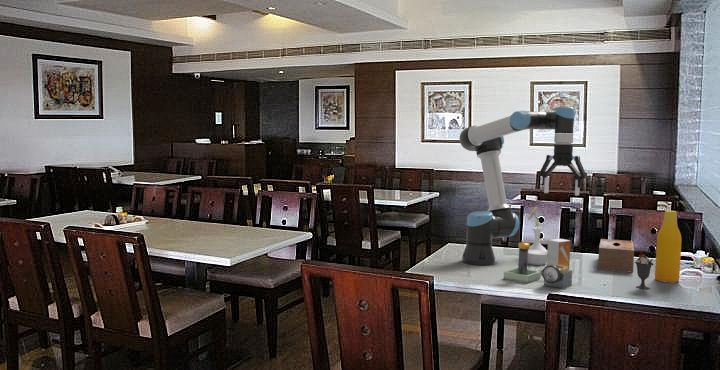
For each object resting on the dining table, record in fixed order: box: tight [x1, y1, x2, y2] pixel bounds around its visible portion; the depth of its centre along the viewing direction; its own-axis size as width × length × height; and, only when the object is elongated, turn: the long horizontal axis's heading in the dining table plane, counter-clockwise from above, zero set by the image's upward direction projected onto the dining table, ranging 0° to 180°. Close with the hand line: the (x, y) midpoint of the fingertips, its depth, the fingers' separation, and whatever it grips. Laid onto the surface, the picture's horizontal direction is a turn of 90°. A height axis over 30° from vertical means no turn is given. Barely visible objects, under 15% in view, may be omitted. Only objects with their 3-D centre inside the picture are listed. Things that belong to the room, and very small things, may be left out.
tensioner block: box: [541, 265, 573, 290], centre depth 247 cm, size 8×11×9 cm
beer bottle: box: [654, 210, 683, 283], centre depth 258 cm, size 9×9×29 cm
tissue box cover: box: [597, 238, 635, 273], centre depth 288 cm, size 26×14×10 cm, turn 157°
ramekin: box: [527, 250, 548, 266], centre depth 291 cm, size 11×11×5 cm
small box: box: [546, 238, 572, 268], centre depth 278 cm, size 8×6×13 cm
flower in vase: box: [527, 205, 548, 251], centre depth 305 cm, size 13×11×25 cm
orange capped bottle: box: [517, 241, 531, 275], centre depth 258 cm, size 5×5×14 cm
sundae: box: [634, 249, 655, 291], centre depth 245 cm, size 7×7×15 cm
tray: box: [503, 267, 542, 284], centre depth 259 cm, size 11×11×3 cm
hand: (561, 194), depth 264 cm, fingers open, 13 cm apart
